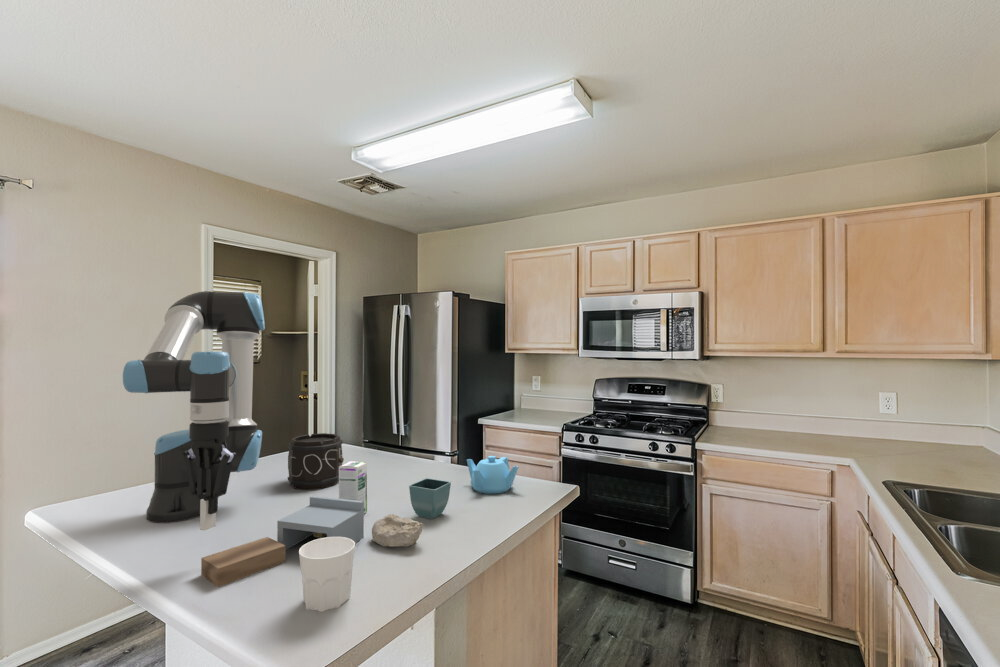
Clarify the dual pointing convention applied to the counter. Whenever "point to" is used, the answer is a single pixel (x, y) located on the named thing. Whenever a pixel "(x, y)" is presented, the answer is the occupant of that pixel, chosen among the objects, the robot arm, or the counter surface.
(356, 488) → the syrup box
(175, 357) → the robot arm
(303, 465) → the coffee canister
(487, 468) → the teapot
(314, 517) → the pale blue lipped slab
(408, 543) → the stone
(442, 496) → the flower pot
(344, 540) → the cup
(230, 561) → the board
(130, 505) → the counter surface
